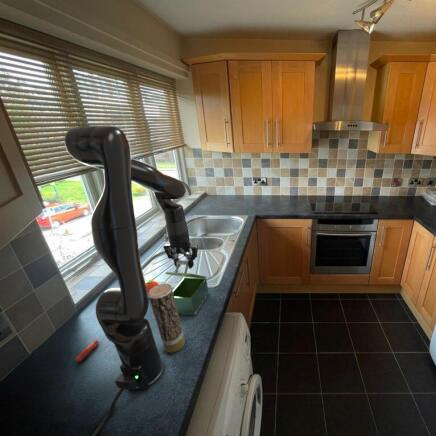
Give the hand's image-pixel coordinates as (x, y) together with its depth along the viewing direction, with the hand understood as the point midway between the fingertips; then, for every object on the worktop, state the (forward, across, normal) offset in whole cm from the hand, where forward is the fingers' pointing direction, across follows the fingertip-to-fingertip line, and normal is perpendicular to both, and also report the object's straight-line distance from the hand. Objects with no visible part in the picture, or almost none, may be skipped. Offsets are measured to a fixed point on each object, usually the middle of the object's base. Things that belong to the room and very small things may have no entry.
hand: (184, 267), depth 99 cm
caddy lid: (+5, 0, 0) cm, 5 cm away
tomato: (+19, -21, +4) cm, 28 cm away
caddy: (+19, 0, 0) cm, 19 cm away
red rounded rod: (+19, -24, -28) cm, 41 cm away
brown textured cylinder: (+19, +5, -22) cm, 29 cm away
